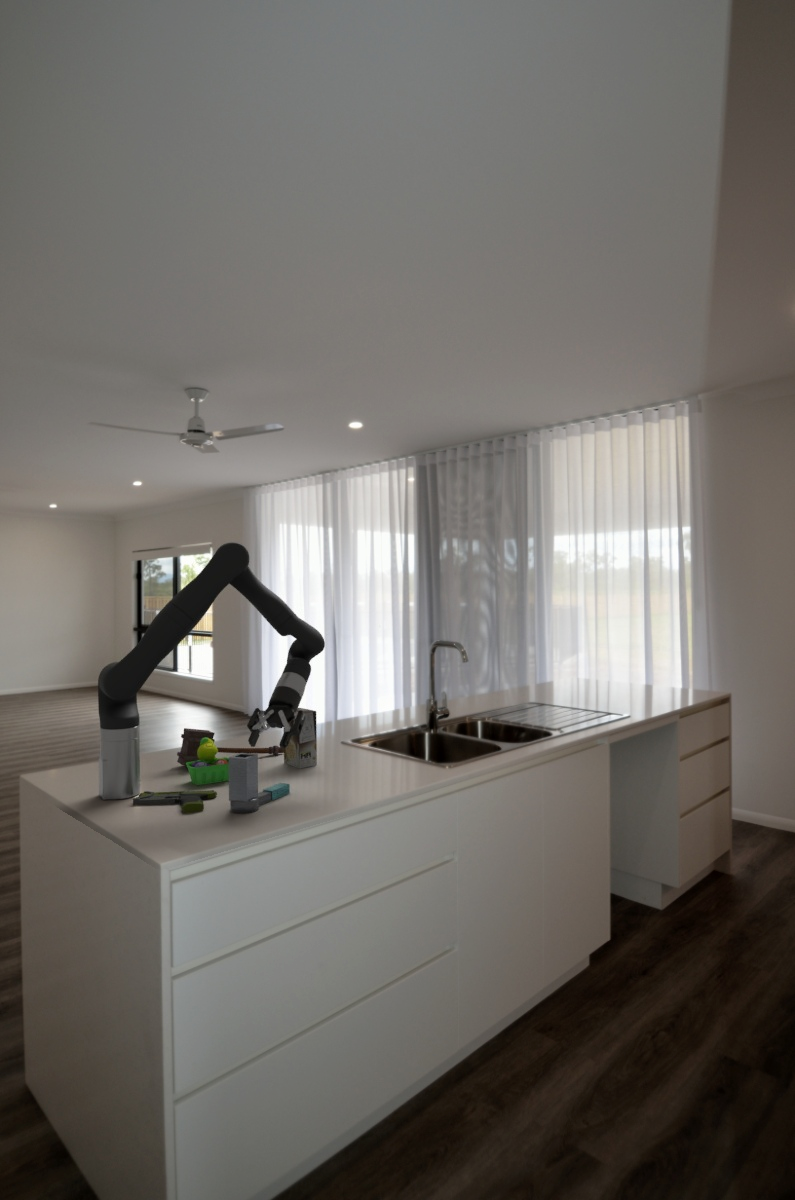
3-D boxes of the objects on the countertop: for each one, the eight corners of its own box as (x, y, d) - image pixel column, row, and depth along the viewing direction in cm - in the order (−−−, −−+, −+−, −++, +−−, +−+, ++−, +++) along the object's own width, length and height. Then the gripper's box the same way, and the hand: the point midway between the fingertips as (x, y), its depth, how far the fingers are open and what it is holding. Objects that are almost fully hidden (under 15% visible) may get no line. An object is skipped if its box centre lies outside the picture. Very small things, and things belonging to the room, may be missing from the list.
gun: (120, 817, 157) (141, 800, 172) (205, 814, 158) (218, 796, 173) (120, 806, 157) (141, 789, 172) (204, 803, 158) (218, 786, 173)
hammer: (174, 761, 202) (181, 727, 203) (275, 767, 220) (281, 736, 221) (181, 766, 196) (188, 731, 197) (284, 772, 214) (290, 740, 215)
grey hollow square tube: (228, 800, 158) (228, 757, 158) (240, 794, 163) (240, 752, 163) (246, 802, 157) (246, 758, 157) (258, 796, 161) (257, 754, 161)
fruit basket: (192, 787, 179) (192, 744, 179) (184, 779, 187) (184, 738, 187) (235, 781, 185) (235, 739, 185) (225, 774, 192) (225, 734, 192)
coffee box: (318, 765, 202) (317, 710, 202) (299, 768, 198) (299, 713, 198) (300, 759, 209) (300, 707, 209) (282, 763, 205) (282, 709, 205)
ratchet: (246, 815, 156) (246, 788, 156) (224, 811, 159) (224, 785, 159) (295, 794, 172) (295, 770, 172) (274, 790, 175) (274, 767, 175)
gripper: (259, 684, 180) (235, 736, 169) (307, 685, 175) (287, 739, 165) (269, 701, 185) (247, 752, 174) (317, 703, 181) (297, 756, 170)
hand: (266, 746), depth 170 cm, fingers open, 8 cm apart
